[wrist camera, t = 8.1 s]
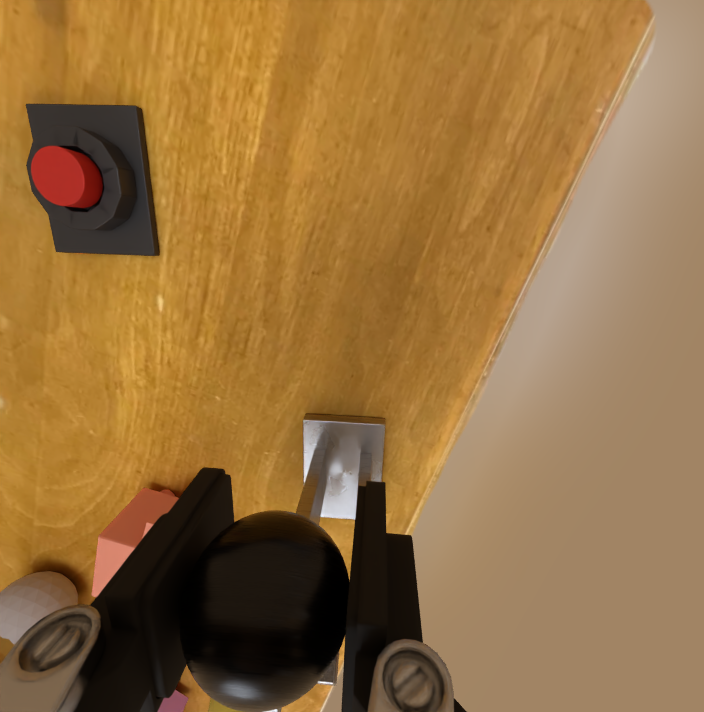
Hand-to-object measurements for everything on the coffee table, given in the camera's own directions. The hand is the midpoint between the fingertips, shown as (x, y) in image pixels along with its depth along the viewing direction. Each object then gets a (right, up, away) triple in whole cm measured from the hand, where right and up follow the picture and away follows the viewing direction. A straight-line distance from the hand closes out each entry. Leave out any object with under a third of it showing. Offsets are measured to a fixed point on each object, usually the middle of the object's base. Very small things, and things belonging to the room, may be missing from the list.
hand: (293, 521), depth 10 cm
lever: (0, -4, +4) cm, 6 cm away
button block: (-17, +18, +17) cm, 30 cm away
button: (-17, +17, +15) cm, 29 cm away
